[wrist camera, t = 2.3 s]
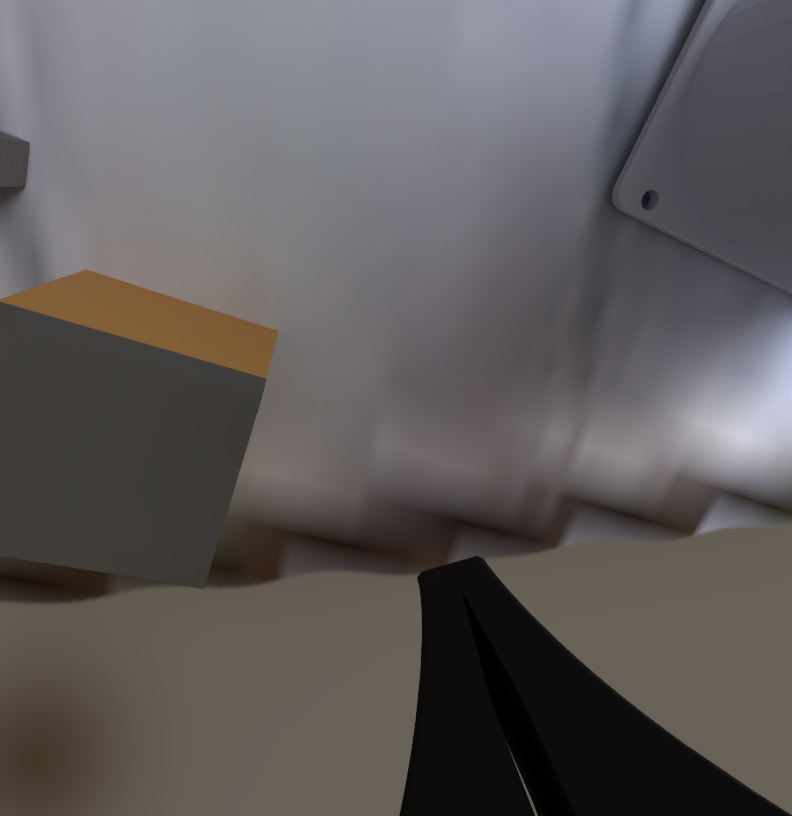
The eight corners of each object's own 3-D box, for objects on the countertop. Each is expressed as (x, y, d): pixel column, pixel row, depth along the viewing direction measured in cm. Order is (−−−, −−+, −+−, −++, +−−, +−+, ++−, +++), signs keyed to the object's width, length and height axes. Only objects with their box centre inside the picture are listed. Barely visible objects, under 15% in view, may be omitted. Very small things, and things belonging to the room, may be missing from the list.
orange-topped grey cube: (277, 330, 14) (261, 396, 9) (235, 473, 16) (203, 588, 11) (87, 269, 13) (-39, 312, 8) (62, 434, 14) (-55, 547, 10)
